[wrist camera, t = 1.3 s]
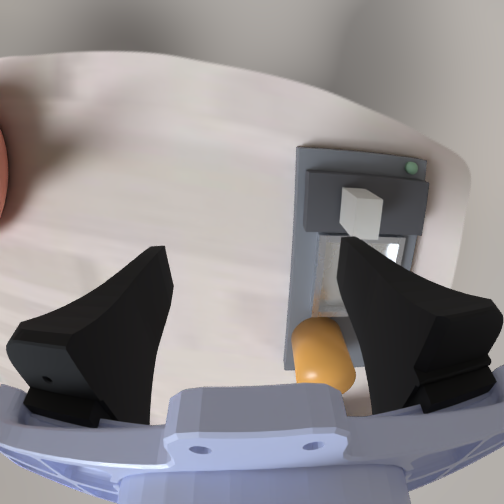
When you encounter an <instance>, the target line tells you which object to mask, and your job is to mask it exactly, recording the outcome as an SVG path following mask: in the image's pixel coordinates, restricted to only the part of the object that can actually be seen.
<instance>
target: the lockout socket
mask: <svg viewBox="0 0 504 504" xmlns="http://www.w3.org/2000/svg"><path fill="white" fill-rule="evenodd" d="M341 237H351V236H350V235H349V234H348V233H329V232H317V242H316V253H315V264H314V274H313V284H312V293H311V302H310V314H311V317H347V316H348V314H347V311H346V308H345V306H344V303H343V301H342V298H341V295H340V291H339V287H338V283H337V279H336V277H337V269H338V260H339V251H340V242H341ZM361 240H362V241H364V242H365V243H367V244H368V245H370V246H371V247H373V248H374V249H376V250H377V251H379V252H380V253H382V254H383V255H385V256H386V257H388V258H389V259H391V260H392V261H394V262H395V263H397V264H399V265H400V266H401V261H402V256H403V251H404V245H405V240H406V238H405V237H404V236H403V235H394V234H379V237H378V240H366V239H361Z"/></svg>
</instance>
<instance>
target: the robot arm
mask: <svg viewBox="0 0 504 504" xmlns="http://www.w3.org/2000/svg"><path fill="white" fill-rule="evenodd" d="M336 279H337V283H338V287H339V291H340V295H341V298H342V301H343V303H344V306H345V308H346V311H347V314H348V316H349V318H350V321H351V323H352V326H353V329H354V331H355V334H356V336H357V339H358V342H359V345H360V349H361V353H362V357H363V361H364V365H365V370H366V375H367V380H368V386H369V392H370V399H371V405H372V414H373V415H370V416H365V417H351V416H347V415H346V410H345V406H344V402H343V398H342V393H341V391H339V390H337V389H335V388H333V387H331V386H329V385H327V384H324V383H294V384H280V385H264V386H237V387H199V388H191V389H185V390H182V391H181V392H179V393H178V394H176V395H175V396H173V397H171V398H170V402H169V407H168V413H167V419H166V424H164V425H153V426H152V425H150V404H151V392H152V382H153V374H154V367H155V360H156V355H157V351H158V346H159V343H160V340H161V336H162V333H163V330H164V326H165V323H166V320H167V316H168V313H169V310H170V306H171V300H172V294H173V287H174V285H173V281H172V277H171V272H170V268H169V264H168V259H167V254H166V250H165V246H152V247H149V248H148V249H146V250H145V251H144V252H143V253H141V254H140V255H139V256H138V257H136V258H135V259H134V260H133V261H131V262H130V263H129V264H128V265H127V266H125V267H124V268H123V269H122V270H120V271H119V272H118V273H116V274H115V275H114V276H113V277H111V278H110V279H109V280H107V281H106V282H105V283H103V284H102V285H100V286H99V287H97V288H96V289H94V290H93V291H91V292H90V293H88V294H86V295H85V296H83V297H81V298H79V299H77V300H75V301H73V302H71V303H70V304H68V305H66V306H64V307H61V308H59V309H57V310H55V311H52V312H50V313H47V314H45V315H42V316H39V317H36V318H33V319H30V320H27V321H23V322H21V323H20V324H19V326H18V327H17V329H16V330H15V332H14V334H13V335H12V337H11V338H10V340H9V342H8V343H7V345H6V351H7V354H8V357H9V359H10V361H11V363H12V364H13V366H14V367H15V368H16V370H17V371H18V372H19V374H20V375H21V376H22V378H23V379H24V380H25V381H26V383H27V384H28V385H29V386H30V389H29V391H28V393H26V392H24V391H23V390H21V389H18V388H15V387H11V386H8V385H5V384H1V386H0V452H1V453H2V454H3V455H5V456H6V457H7V458H9V459H10V460H11V461H13V462H14V463H15V464H17V465H18V466H20V467H22V468H24V469H27V470H29V471H31V472H33V473H36V474H38V475H40V476H43V477H45V478H47V479H50V480H52V481H55V482H57V483H59V484H62V485H64V486H67V487H70V488H72V489H75V490H78V491H80V492H83V493H86V494H89V495H92V496H95V497H98V498H101V499H104V500H108V501H111V502H114V503H117V504H411V501H410V497H409V493H408V492H409V491H412V490H414V489H417V488H419V487H422V486H424V485H427V484H429V483H432V482H434V481H436V480H439V479H441V478H443V477H445V476H447V475H449V474H452V473H454V472H456V471H458V470H460V469H462V468H464V467H466V466H468V465H470V464H471V463H474V462H476V461H477V460H479V459H481V458H483V457H485V456H487V455H488V454H490V453H492V452H494V451H495V450H497V449H499V448H501V447H503V446H504V365H502V366H500V367H498V368H496V369H495V370H494V371H493V372H491V370H490V368H489V367H488V365H490V364H491V359H490V357H489V356H488V353H489V351H490V349H491V348H492V346H493V344H494V343H495V341H496V339H497V337H498V336H499V334H500V331H501V329H502V325H503V315H502V314H501V312H500V310H499V309H498V308H497V307H496V305H495V304H494V303H493V301H492V300H491V299H487V298H482V297H478V296H473V295H469V294H465V293H462V292H458V291H455V290H452V289H449V288H446V287H444V286H441V285H439V284H436V283H434V282H431V281H429V280H427V279H425V278H423V277H421V276H419V275H417V274H415V273H413V272H411V271H409V270H407V269H405V268H404V267H402V266H400V265H399V264H397V263H395V262H394V261H392V260H391V259H389V258H388V257H386V256H385V255H383V254H382V253H380V252H379V251H377V250H376V249H374V248H373V247H371V246H370V245H368V244H367V243H365V242H364V241H362V240H361V239H359V238H357V237H355V236H351V237H341V242H340V251H339V260H338V269H337V277H336Z"/></svg>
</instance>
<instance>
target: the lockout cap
mask: <svg viewBox="0 0 504 504" xmlns="http://www.w3.org/2000/svg"><path fill="white" fill-rule="evenodd" d="M291 343H292V350H293V357H294V365H295V373H296V381H297V383H324V384H327V385H329V386H331V387H333V388H335V389H337V390H339V391H341V393H342V394H344V393H345V392H346V391H348V390H349V389H350V388H351V386H352V385H353V383H354V381H355V378H356V372H355V369H354V366H353V363H352V360H351V358H350V355H349V352H348V349H347V346H346V343H345V341H344V338H343V335H342V332H341V330H340V327H339V325H338V324H337V323H336V322H335V321H334V320H333V319H331V318H328V317H312V318H308V319H306V320H304V321H302V322H301V323H300V324H298V325H297V326H296V328H295V329H294V331H293V333H292V336H291Z"/></svg>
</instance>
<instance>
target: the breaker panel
mask: <svg viewBox="0 0 504 504" xmlns="http://www.w3.org/2000/svg"><path fill="white" fill-rule="evenodd" d="M426 164H427V161H426V160H422V159H418V158H411V157H404V156H396V155H389V154H380V153H371V152H361V151H351V150H339V149H325V148H309V147H296V175H295V201H294V222H293V241H292V258H291V274H290V288H289V302H288V315H287V327H286V339H285V350H284V370H295V365H294V357H293V350H292V343H291V336H292V333H293V331H294V329H295V328H296V326H297V325H298V324H300V323H301V322H302V321H304V320H306V319H308V318H312V317H311V314H310V302H311V293H312V284H313V274H314V264H315V253H316V242H317V232H329V233H347V231H346V230H345V229H344V228H343V226H342V225H341V224H340V223H339V222H340V211H341V199H342V187H346V188H361V189H366V190H368V191H370V192H371V193H373V194H375V195H376V196H378V197H380V198H381V199H383V206H382V214H381V222H380V230H379V234H394V235H403V236H404V237H405V238H406V240H405V245H404V251H403V256H402V261H401V266H402V267H404V268H405V269H407V270H409V271H410V269H411V264H412V259H413V254H414V249H415V244H416V239H417V235H420V236H422V230H423V224H424V218H425V211H426V204H427V197H428V189H429V183H428V182H426V181H425V175H426ZM328 318H331V319H333V320H334V321H335V322H336V323H337V324H338V325H339V327H340V330H341V332H342V335H343V338H344V341H345V343H346V346H347V349H348V352H349V355H350V358H351V360H352V363H353V366H354V367H364V366H365V365H364V361H363V357H362V353H361V349H360V345H359V342H358V339H357V336H356V334H355V331H354V329H353V326H352V323H351V321H350V318H349V316H347V317H328Z"/></svg>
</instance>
